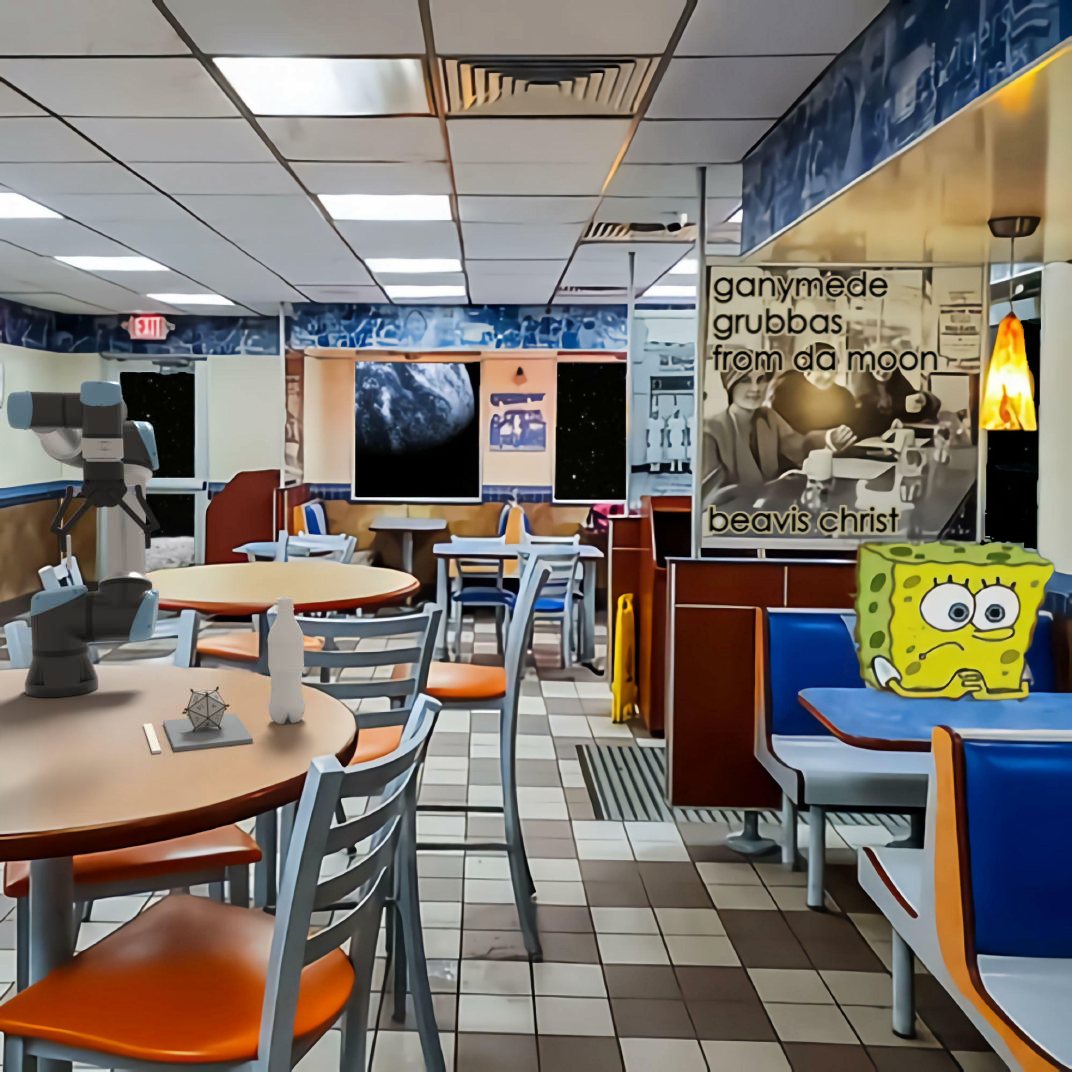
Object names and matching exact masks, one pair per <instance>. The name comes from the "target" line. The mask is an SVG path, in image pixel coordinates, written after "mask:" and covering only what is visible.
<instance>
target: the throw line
mask: <svg viewBox="0 0 1072 1072" xmlns="http://www.w3.org/2000/svg"><path fill="white" fill-rule="evenodd" d="M143 730H144V733H145V735H146V739H147V742H148V746H149V748H150V750H151V754H152V755H155V754H162V750H161V745H160V744H159V741H158V738H157V735H156V732H155V729H154V726H153V723H151V722H150V723H143Z"/></svg>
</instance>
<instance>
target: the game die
mask: <svg viewBox="0 0 1072 1072" xmlns="http://www.w3.org/2000/svg"><path fill="white" fill-rule="evenodd" d="M219 687H220V686H219V685H218V686H216V687H215V689H209V690H208V689H207V690H199V691H197V690H196V691H194V689H193V688H189V690H190V691H189V692H190V693H191V696H190V698H189V701H188V703H187V707H184V708H183V711H182V712H181V714H183V715H185V714H186V716H187V718H189V719H190V721H191V723H192V725H193V727H194V729H193V732H195V730H196V729H199V728H209V727H218V728H219V729H220V730H221V726H219V725H220V722H221V719H222V717H223V715H225V714H224V713H225V712H226V711H227V709H228V708H229V707H230V706H231V704H229V703H228V704H227V703H225V701H224V700H223V698H222V696H221V695H220V693H219V691H218V690H219Z"/></svg>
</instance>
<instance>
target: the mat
mask: <svg viewBox="0 0 1072 1072" xmlns="http://www.w3.org/2000/svg"><path fill="white" fill-rule="evenodd" d="M219 726H221V730H220V729H219V728H218V727H209V728H199V729H196V730H195V732H193V729H194V727H193V725H192V723H191V721H190V719H189V718H188V717H187V718H179V719H178V718H177V719H168V720H167V719H166V720H163V727H164V730H165V731H166V734H167V737H168V740H169V742H170V744H171V747H172V749H173V752H181V751H190V750H199V749H200V750H201V749H208V748H209V749H210V748H217V747H226V746H234V745H235V746H236V745H243V744H244V745H245V744H253V743H254V739H253V738H254V737H252V735H251V733H250V732H249V731H248V729H247V728H246V726H245V725H244V723H243V722H242V721H241V719H240V717H239V716H238V714H237V713H228V714H223V717H222V719H221V722H220V725H219Z"/></svg>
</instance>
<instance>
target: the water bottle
mask: <svg viewBox="0 0 1072 1072" xmlns="http://www.w3.org/2000/svg"><path fill="white" fill-rule="evenodd" d="M294 610H295V608H294V598H293V597H290V596H289V597H285V596H284V597H278V598H277V606H276V611H277V613H276V618H275V620H274V622H273V624H272V626H271V628H270V630H269V632H268V634H267V635H268V636H267V654H268V655H267V656H268V658H267V659H268V661H267V662H268V663H267V664H268V665H267V666H268V670H269V674H270V681H271V682H270V683H271V684H270V685H271V688H270V689H271V690H270V699H269V703H268V714H269V717H270V718H271V720H272V721H273V722H275V723H277V724H279V725H284V724H285V722H286V720H287V719H289V721H290V723H292V724H296V722H297V723H298V722H300V720H302V718H303V716H304V714H305V711H306V703H305V700H304V695H303V694H304V693H303V685H302V679H303V670H304V667H305V662H304V661H305V660H304V658H305V649H304V647H305V646H304V641H305V636H304V632H303V631H302V629H301V628H302V627H300V624H299V623H298V621H297V619H296V617H295V613H294Z"/></svg>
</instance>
